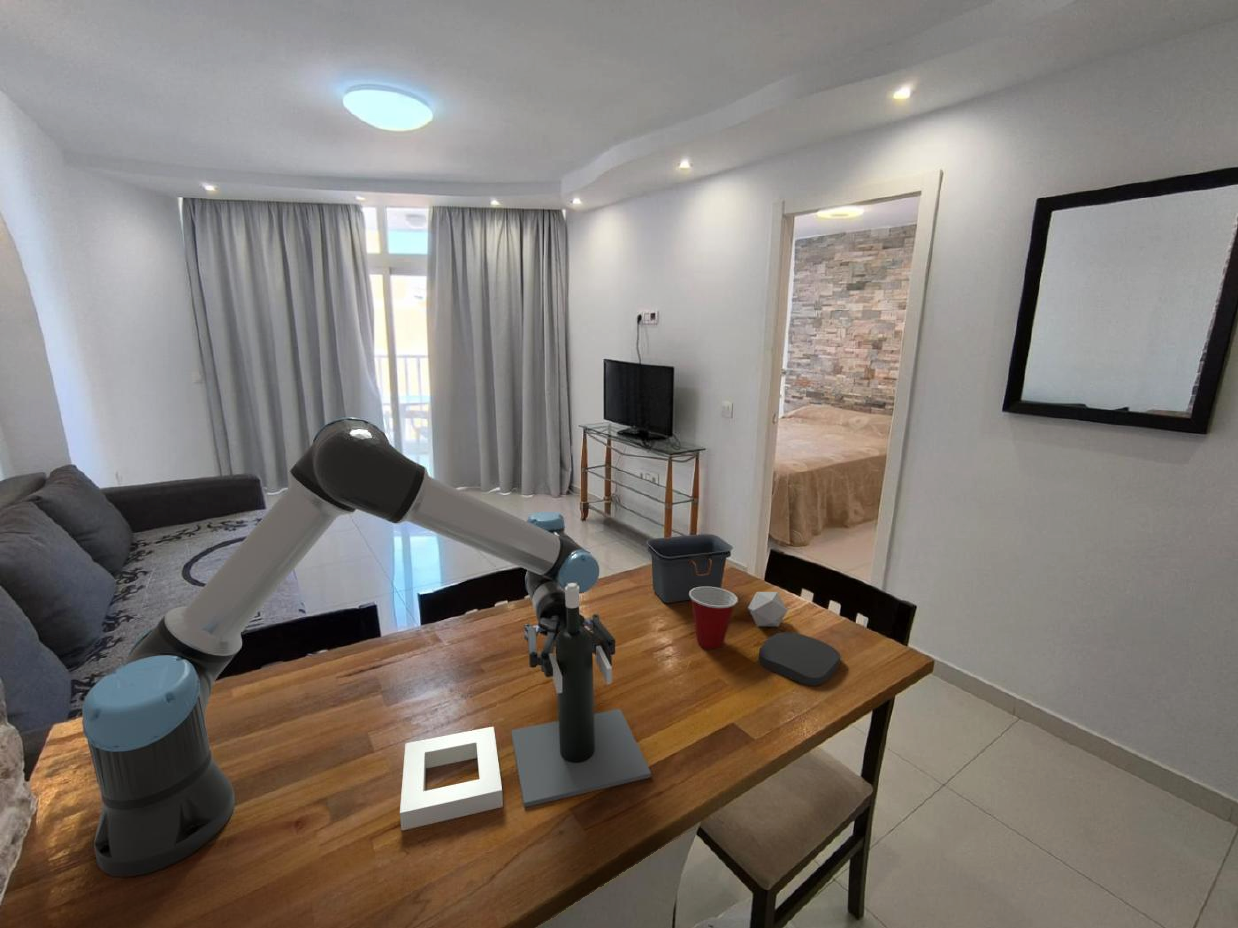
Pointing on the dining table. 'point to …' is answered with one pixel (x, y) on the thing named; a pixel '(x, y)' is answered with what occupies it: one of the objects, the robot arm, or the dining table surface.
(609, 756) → the coaster mat
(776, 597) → the die
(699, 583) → the storage bin
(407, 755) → the frame
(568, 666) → the wine bottle
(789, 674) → the media streaming box
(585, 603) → the dining table surface
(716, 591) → the plastic cup
